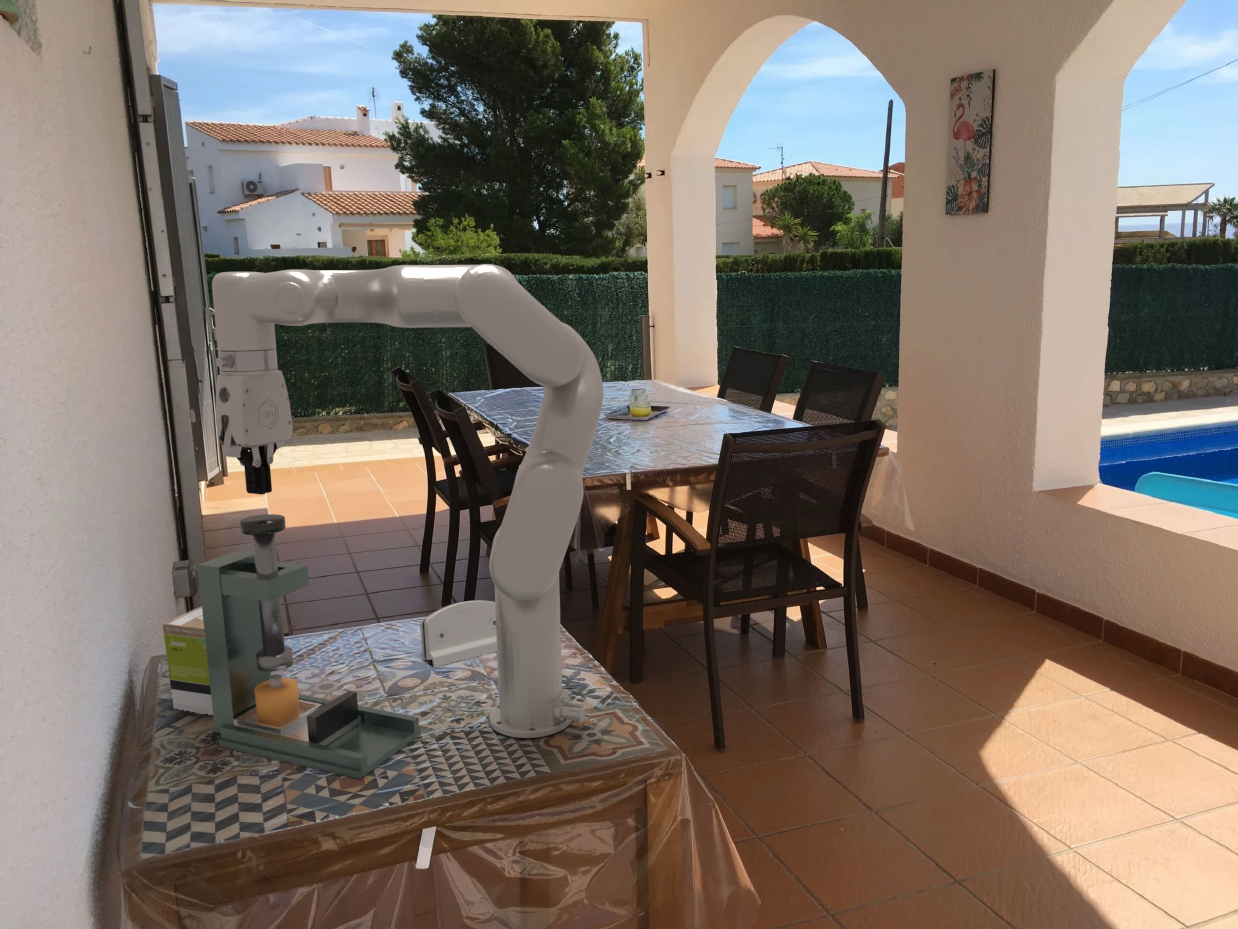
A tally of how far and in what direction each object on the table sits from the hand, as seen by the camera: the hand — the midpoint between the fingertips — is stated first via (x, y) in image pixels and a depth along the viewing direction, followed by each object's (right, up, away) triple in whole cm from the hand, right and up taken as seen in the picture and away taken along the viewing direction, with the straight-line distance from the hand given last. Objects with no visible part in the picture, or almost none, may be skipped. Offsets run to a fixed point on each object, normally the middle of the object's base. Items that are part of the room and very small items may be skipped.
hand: (259, 492), depth 135 cm
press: (+6, -36, +5) cm, 37 cm away
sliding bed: (+4, -35, +6) cm, 36 cm away
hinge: (+23, -30, +37) cm, 53 cm away
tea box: (-12, -34, +20) cm, 41 cm away
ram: (+1, -25, +5) cm, 26 cm away
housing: (0, -34, +7) cm, 34 cm away
